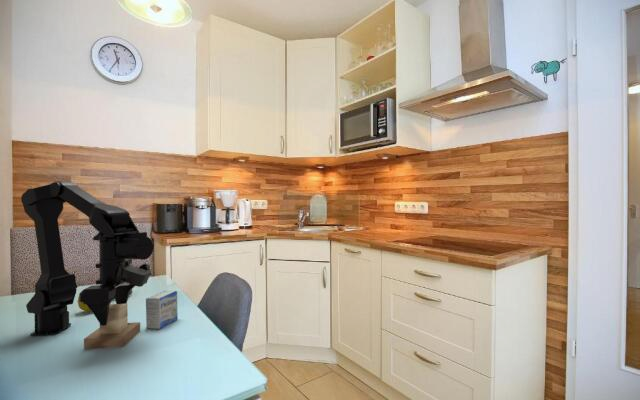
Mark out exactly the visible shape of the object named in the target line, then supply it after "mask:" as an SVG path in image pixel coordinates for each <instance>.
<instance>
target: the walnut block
mask: <svg viewBox="0 0 640 400" xmlns="http://www.w3.org/2000/svg"><path fill="white" fill-rule="evenodd" d="M140 332H141V322H140V321H139V322H128V326H127V327H126V328H125V329H123V330H122V331H121V332H120V333H113V334H100V327H99V328H97V329H96V330H94V331H93V332H91V333H90V334H89V335H87V336H86V337H85V338H83V350H91V349H107V348H111V349H112V348H124V347H125V346H127V344H129V343H130V341H132V339H134V338H135V337H136V336H138V334H139V333H140Z"/></svg>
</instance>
